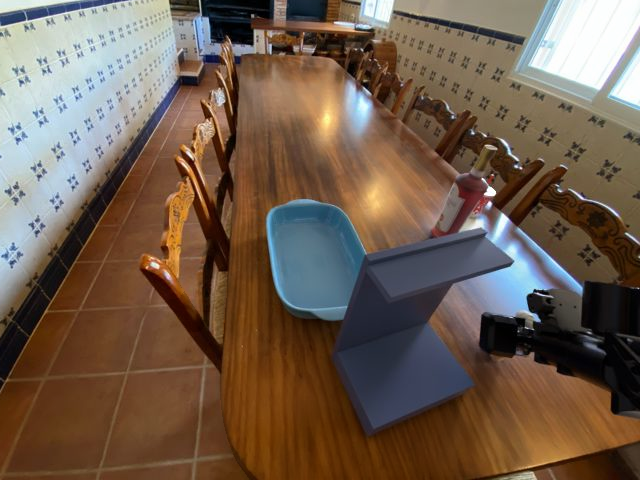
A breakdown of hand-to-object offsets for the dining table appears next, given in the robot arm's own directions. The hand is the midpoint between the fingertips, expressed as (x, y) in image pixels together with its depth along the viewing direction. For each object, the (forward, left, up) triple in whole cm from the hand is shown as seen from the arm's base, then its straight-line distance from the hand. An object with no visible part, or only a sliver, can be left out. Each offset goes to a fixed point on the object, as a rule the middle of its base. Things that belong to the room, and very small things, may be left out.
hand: (508, 328), depth 55 cm
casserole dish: (+29, +26, -7) cm, 40 cm away
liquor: (+29, -13, -7) cm, 33 cm away
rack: (+1, +22, -7) cm, 23 cm away
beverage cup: (+36, -31, -7) cm, 48 cm away
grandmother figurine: (-1, +1, -7) cm, 7 cm away
